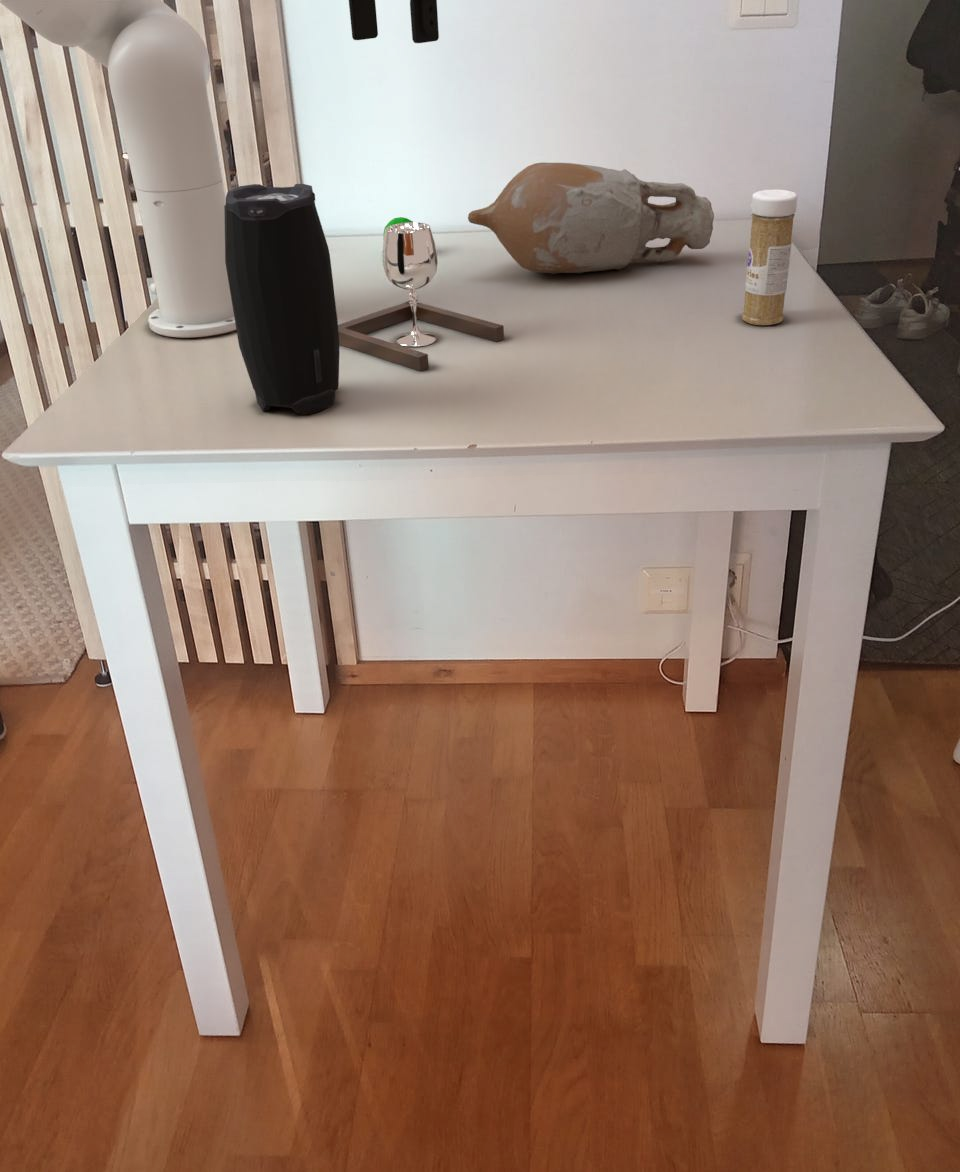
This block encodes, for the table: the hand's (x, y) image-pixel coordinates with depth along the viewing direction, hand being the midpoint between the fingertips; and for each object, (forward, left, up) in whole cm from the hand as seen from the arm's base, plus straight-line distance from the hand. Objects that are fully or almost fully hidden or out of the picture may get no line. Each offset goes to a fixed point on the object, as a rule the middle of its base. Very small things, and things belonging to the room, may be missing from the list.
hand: (394, 40), depth 114 cm
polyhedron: (-18, +14, -28) cm, 36 cm away
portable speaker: (+14, -28, -28) cm, 42 cm away
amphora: (+8, +23, -28) cm, 37 cm away
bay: (+10, -9, -28) cm, 31 cm away
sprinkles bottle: (+36, +19, -28) cm, 50 cm away
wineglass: (+10, -9, -28) cm, 32 cm away
